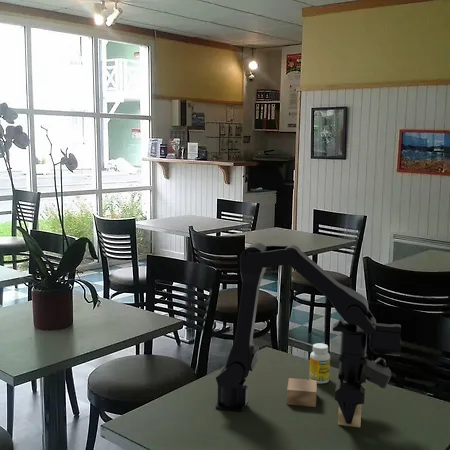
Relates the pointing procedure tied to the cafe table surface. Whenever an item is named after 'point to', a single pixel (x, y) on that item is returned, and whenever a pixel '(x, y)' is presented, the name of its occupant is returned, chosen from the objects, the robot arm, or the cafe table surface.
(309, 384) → the walnut base block
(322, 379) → the supplement bottle
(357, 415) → the maple cube
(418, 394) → the cafe table surface
